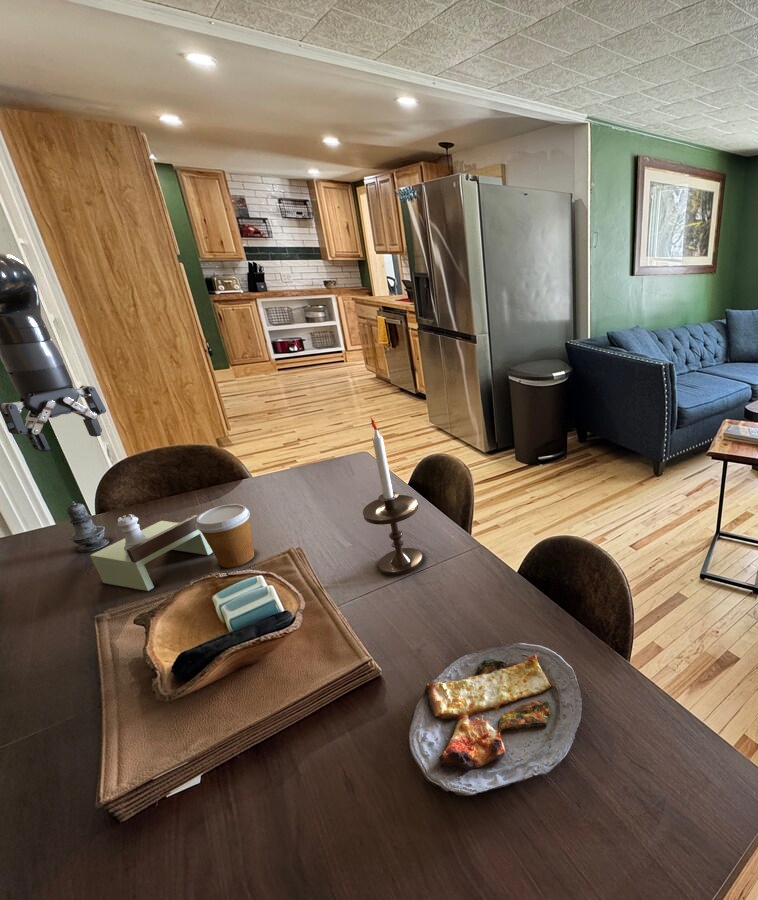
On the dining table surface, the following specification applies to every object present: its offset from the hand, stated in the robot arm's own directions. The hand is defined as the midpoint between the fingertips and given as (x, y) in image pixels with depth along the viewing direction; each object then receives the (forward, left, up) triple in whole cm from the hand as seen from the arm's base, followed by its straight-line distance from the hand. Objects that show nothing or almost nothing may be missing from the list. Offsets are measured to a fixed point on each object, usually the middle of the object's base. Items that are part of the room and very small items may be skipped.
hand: (71, 443), depth 97 cm
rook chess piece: (+14, -4, -21) cm, 26 cm away
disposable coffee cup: (+26, +5, -28) cm, 39 cm away
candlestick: (+63, +12, -28) cm, 70 cm away
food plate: (+100, -19, -28) cm, 106 cm away
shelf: (+12, -1, -28) cm, 31 cm away
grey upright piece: (-12, +2, -28) cm, 31 cm away
